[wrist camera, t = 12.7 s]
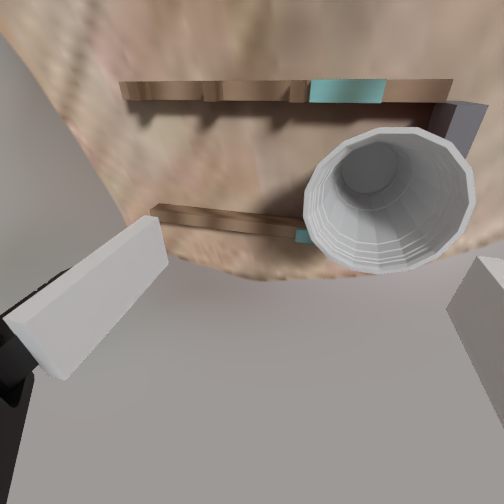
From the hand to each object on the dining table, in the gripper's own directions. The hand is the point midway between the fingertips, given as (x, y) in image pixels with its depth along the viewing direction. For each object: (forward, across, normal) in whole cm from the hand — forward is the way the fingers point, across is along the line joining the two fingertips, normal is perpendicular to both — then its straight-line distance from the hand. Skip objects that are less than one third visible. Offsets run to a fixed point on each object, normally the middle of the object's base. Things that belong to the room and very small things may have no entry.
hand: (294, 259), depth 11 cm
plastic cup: (+21, +5, -1) cm, 21 cm away
